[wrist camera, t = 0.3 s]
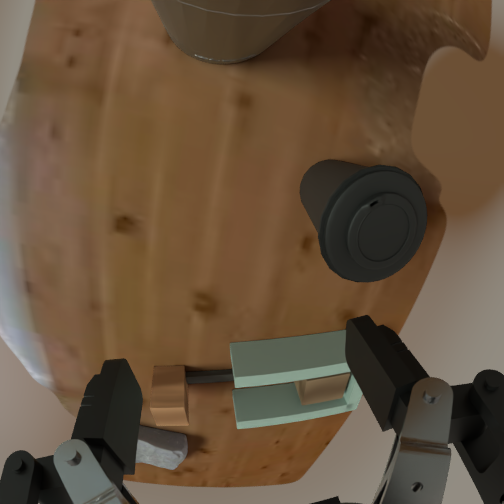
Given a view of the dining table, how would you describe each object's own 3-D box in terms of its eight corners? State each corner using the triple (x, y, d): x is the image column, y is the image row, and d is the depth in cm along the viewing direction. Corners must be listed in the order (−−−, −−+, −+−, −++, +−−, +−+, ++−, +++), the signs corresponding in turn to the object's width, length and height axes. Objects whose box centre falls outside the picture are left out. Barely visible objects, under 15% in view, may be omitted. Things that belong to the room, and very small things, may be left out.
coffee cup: (315, 125, 24) (375, 141, 16) (384, 174, 27) (454, 211, 18) (266, 207, 27) (298, 263, 18) (338, 245, 30) (388, 306, 21)
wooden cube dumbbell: (153, 363, 33) (148, 405, 28) (336, 346, 36) (355, 383, 30) (160, 388, 35) (157, 428, 30) (330, 371, 38) (346, 407, 32)
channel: (229, 342, 33) (234, 377, 29) (358, 327, 35) (376, 356, 31) (232, 397, 37) (237, 429, 33) (343, 381, 39) (356, 409, 35)
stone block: (177, 449, 45) (191, 431, 40) (175, 473, 41) (189, 461, 36) (108, 432, 42) (110, 412, 37) (104, 457, 38) (104, 442, 33)
